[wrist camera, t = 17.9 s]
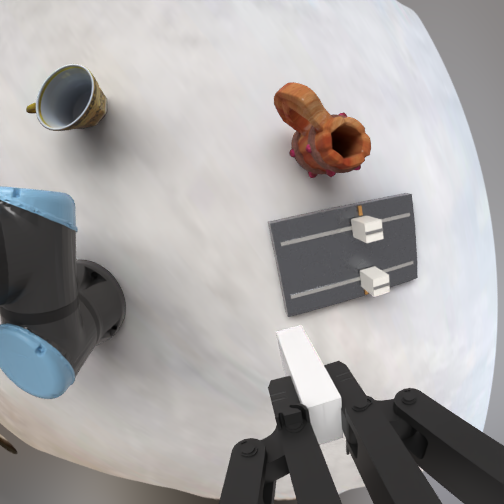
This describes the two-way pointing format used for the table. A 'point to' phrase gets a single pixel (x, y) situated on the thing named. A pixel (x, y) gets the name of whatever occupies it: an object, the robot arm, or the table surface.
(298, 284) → the console
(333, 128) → the mug
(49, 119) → the ceramic cup
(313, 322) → the table surface
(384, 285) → the fader far
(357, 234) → the fader near
